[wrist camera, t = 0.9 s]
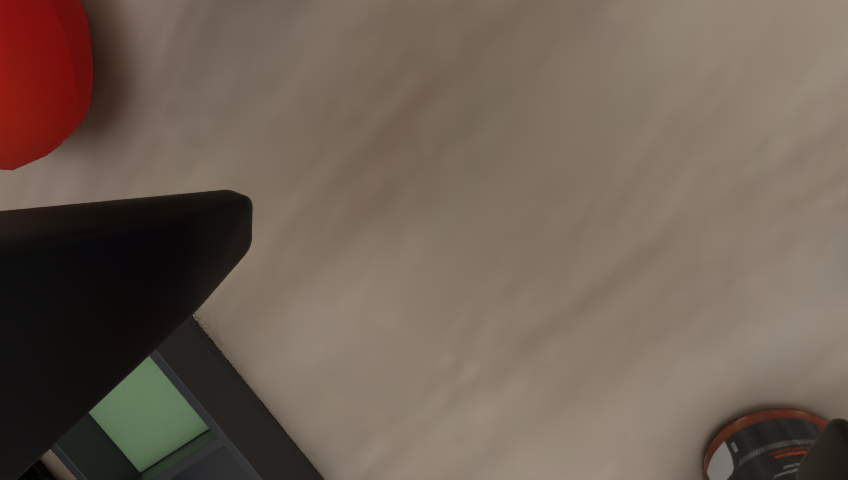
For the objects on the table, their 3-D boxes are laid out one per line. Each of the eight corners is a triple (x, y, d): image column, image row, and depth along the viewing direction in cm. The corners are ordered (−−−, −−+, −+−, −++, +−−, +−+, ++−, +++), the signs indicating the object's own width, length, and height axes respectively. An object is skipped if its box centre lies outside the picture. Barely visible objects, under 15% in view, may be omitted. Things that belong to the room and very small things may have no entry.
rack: (244, 586, 32) (215, 637, 30) (42, 349, 30) (-11, 379, 28) (362, 526, 30) (343, 577, 27) (149, 263, 28) (102, 286, 25)
